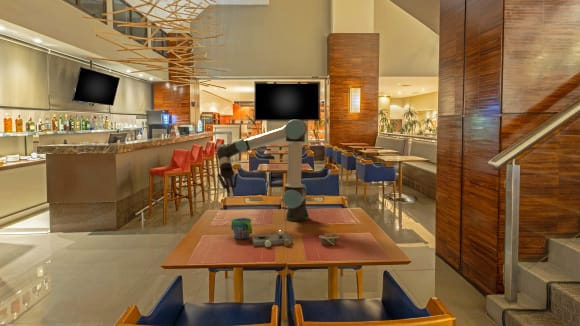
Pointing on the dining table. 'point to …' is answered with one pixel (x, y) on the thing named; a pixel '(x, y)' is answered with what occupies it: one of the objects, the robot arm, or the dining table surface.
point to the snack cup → (241, 228)
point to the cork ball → (287, 242)
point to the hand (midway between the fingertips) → (231, 197)
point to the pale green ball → (267, 243)
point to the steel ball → (280, 233)
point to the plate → (273, 238)
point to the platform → (329, 239)
